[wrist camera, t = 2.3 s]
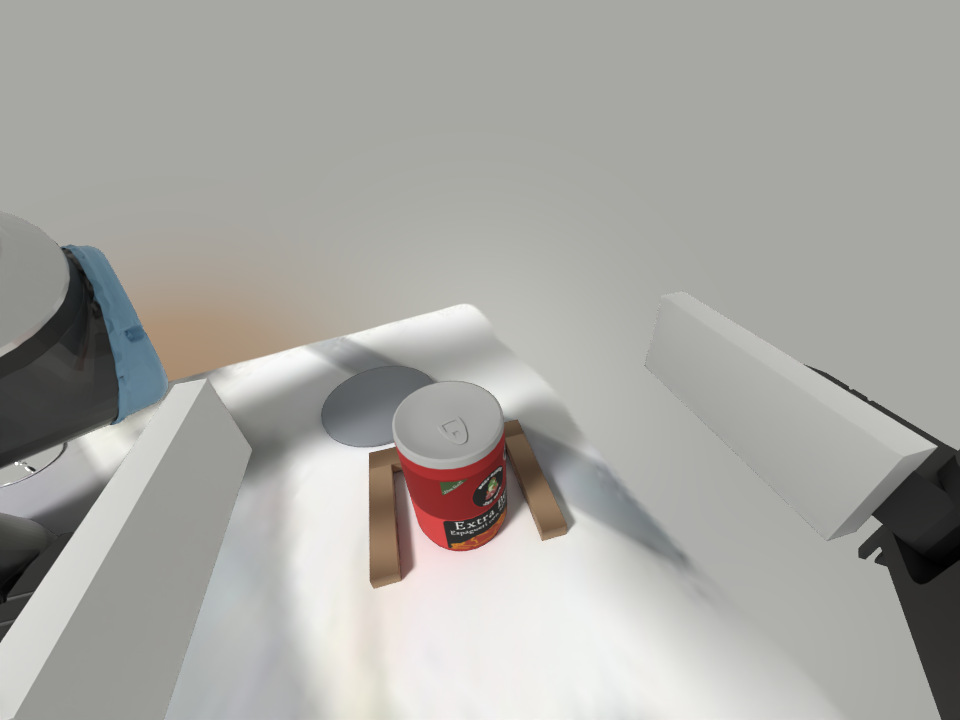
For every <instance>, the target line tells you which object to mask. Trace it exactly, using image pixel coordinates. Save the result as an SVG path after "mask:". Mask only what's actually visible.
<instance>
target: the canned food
mask: <svg viewBox="0 0 960 720" xmlns="http://www.w3.org/2000/svg"><path fill="white" fill-rule="evenodd" d="M392 430H393V438H394V441H395V445H396V449H397V453H398V456H399V460H400V463H401V466H402V470H403V473H404V476H405V480H406V483H407V487H408V490H409V493H410V497H411V500H412V504H413V507H414V510H415V514H416V517H417V520H418V523H419V525H420V527H421V529H422V531H423V532H424V533H425V534H426V535H427V536H428V537H429V538H430V539H431V540H432V541H433V542H434V543H436V544H437V545H439V546H440V547H443V548H445V549H448V550H453V551H468V550H473V549H476V548H478V547H480V546H483V545H484V544H486V543H487V542H488V541H490V540H491V539H492V538H493V537H494V536H495V535H496V533H497V532H498V530H499V528H500V527H501V525H502V523H503V521H504V518H505V515H506V509H507V489H506V452H505V429H504V417H503V413H502V409H501V406H500V404H499V402H498V401H497V399H496V398H495V397H494V396H493V395H492V394H491V393H490V392H489V391H487V390H485V389H484V388H482V387H480V386H477V385H475V384H472V383H467V382H461V381H444V382H438V383H434V384H430V385H427V386H424V387H422V388H420V389H418V390H416V391H415V392H413V393H412V394H410V395H409V396H408V397H407V398H405V399H404V400H403V401H402V403H401V404H400V405H399V406H398V408H397V410H396V412H395V414H394V417H393V422H392Z"/></svg>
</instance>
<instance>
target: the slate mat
mask: <svg viewBox="0 0 960 720" xmlns="http://www.w3.org/2000/svg"><path fill="white" fill-rule="evenodd" d="M430 384H434V383H433V381H432V380H431V379H430V378H429V377H428V376H427V375H426V374H424V373H423V372H421V371H419V370H416V369H413V368H409V367H402V366H388V367H380V368H375V369H371V370H368V371H365V372H362V373H360V374H357V375H355V376H353V377H351V378H350V379H348V380H346V381H345V382H343V383H342V384H341V385H339V386H338V387H337V388H336V389H335V390H334V391H333V392H332V393H331V394H330V395H329V397H328V398H327V400H326V401H325V403H324V405H323V409H322V415H321V416H322V422H323V425H324V427H325V429H326V431H327V433H328V434H329V435H330V436H331V437H332V438H333V439H335V440H336V441H338V442H340V443H342V444H345V445H348V446H354V447H375V446H382V445H386V444H390V443H392V442H395V441H394V438H393V430H392V422H393V417H394V414H395V412H396V410H397V408H398V406H399V405H400V404H401V403H402V401H403V400H404V399H405V398H407V397H408V396H409V395H410V394H412V393H413V392H415V391H416V390H418V389H420V388H422V387H424V386H427V385H430Z"/></svg>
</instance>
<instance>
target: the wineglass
mask: <svg viewBox="0 0 960 720" xmlns="http://www.w3.org/2000/svg"><path fill="white" fill-rule="evenodd" d="M63 448H64V444H60V445H58V446H56V447H53V448H51V449H48V450H46V451H43V452H41V453H39V454H36V455H34V456H31V457H29V458H27V459H24V460H22V461H20V462H17V463H15V464H12V465H10V466H8V467H5V468H3V469H1V470H0V487H4V486H8V485H11V484H14V483H16V482H19V481H21V480H24V479H26V478H28V477H30V476H32V475H34V474H35V473H37V472H39V471H40V470H42V469H43V468H45V467H46V466H48V465H49V464H50V463H51V462H53V461H54V460H55V459H56V458H57V457H58V456H59V455H60V453H61V452H62V450H63Z"/></svg>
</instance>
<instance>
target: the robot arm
mask: <svg viewBox="0 0 960 720" xmlns="http://www.w3.org/2000/svg"><path fill="white" fill-rule="evenodd" d="M645 366H646V367H647V368H648V369H649V370H650V371H651V372H652V373H653V374H654V375H655V376H656V377H657V378H658V379H659V380H660V381H661V382H662V383H663V384H664V385H665V386H666V387H667V388H668V389H669V390H670V391H671V392H673V393H674V394H675V395H676V396H677V397H678V398H679V399H680V400H681V401H682V402H683V403H684V404H685V405H686V406H687V407H688V408H689V409H690V410H691V411H692V412H693V413H694V414H695V415H696V416H697V417H698V418H700V419H701V420H702V421H703V422H704V423H705V424H706V425H707V426H708V427H709V428H710V429H711V430H712V431H713V432H714V433H715V434H716V435H717V436H718V437H719V438H720V439H721V440H722V441H723V442H724V443H726V444H727V445H728V446H729V447H730V448H731V449H732V450H733V451H734V452H735V453H736V454H737V455H738V456H739V457H740V458H741V459H742V460H743V461H744V462H745V463H746V464H747V465H748V466H749V467H750V468H751V469H753V470H754V471H755V472H756V473H757V474H758V475H759V476H760V477H761V478H762V479H763V480H764V481H765V482H766V483H767V484H768V485H769V486H770V487H771V488H772V489H773V490H774V491H775V492H776V493H777V494H778V495H780V496H781V497H782V498H783V499H784V500H785V501H786V502H787V503H788V504H789V505H790V506H791V507H792V508H793V509H794V510H795V511H796V512H797V513H798V514H799V515H800V516H801V517H802V518H803V519H805V521H807V522H808V523H809V524H810V525H811V526H812V527H813V528H814V529H815V530H816V531H817V532H818V533H819V534H820V535H821V536H822V537H823V538H824V539H825V540H826V541H828V540H831V539H834V538H837V537H841V536H844V535H846V534H850V533H853V532H856V531H857V530H858V529H859V528H860V527H861V526H862V524H863V523H864V522H865V521H866V520H867V519H868V518H869V517H870V516H871V515H873V516H874V517H875V518H876V519H877V520H879V521H880V522H881V523H882V524H883V525H882V526H881V527H880V528H879V529H878V530H877V531H875V533H874V534H872V535H871V536H870V537H869V538H868V539H867V540H866V541H865V542H864V543H863V544H862V545H861V546H860V547H859V551H858V553H859V558H862V559H866V558H867V557H868V556H869V555H871V554H872V553H873V552H874V551H875V550H876V549H877V548H878V547H881V549H882V552H881V553H880V554H879V555H878V556H877V557H876V559H875V563H877V564H881V565H884V566H887V567H888V569H889V572H890V575H891V578H892V581H893V584H894V586H895V589H896V592H897V595H898V598H899V601H900V603H901V606H902V609H903V612H904V615H905V618H906V620H907V623H908V626H909V629H910V632H911V635H912V638H913V640H914V643H915V646H916V649H917V652H918V654H919V657H920V660H921V663H922V666H923V669H924V672H925V674H926V677H927V680H928V683H929V686H930V688H931V691H932V694H933V697H934V700H935V703H936V705H937V709H938V711H939V714H940V717H941V720H960V450H959V451H957V450H955V449H954V448H952V447H950V446H948V445H946V444H944V443H943V442H941V441H939V440H938V439H936V438H934V437H933V436H931V435H929V434H928V433H926V432H924V431H922V430H921V429H919V428H917V427H916V426H914V425H912V424H911V423H909V422H907V421H906V420H904V419H902V418H901V417H899V416H897V415H896V414H894V413H892V412H891V411H889V410H887V409H885V408H884V407H882V406H881V405H879V404H877V403H876V402H874V401H868V399H867V397H866V396H864V395H862V394H861V393H859V392H857V391H856V390H854V389H853V390H850V389H849V386H847V385H845V384H844V383H842V382H840V381H839V380H837V379H835V378H834V377H832V376H830V375H829V374H827V373H825V372H822V371H820V370H817V369H814V368H812V367H809V366H807V365H804V364H802V363H800V362H798V361H797V360H795V359H793V358H792V357H790V356H789V355H787V354H785V353H784V352H782V351H780V350H779V349H777V348H775V347H774V346H772V345H770V344H769V343H767V342H766V341H764V340H762V339H761V338H759V337H757V336H756V335H754V334H752V333H751V332H749V331H747V330H746V329H744V328H743V327H741V326H739V325H738V324H736V323H734V322H733V321H731V320H729V319H728V318H726V317H725V316H722V315H721V314H719V313H718V312H716V311H715V310H713V309H711V308H710V307H708V306H707V305H705V304H703V303H702V302H700V301H698V300H697V299H695V298H693V297H692V296H690V295H688V294H687V293H685V292H677V293H672V294H666V295H662V297H661V301H660V305H659V309H658V313H657V317H656V321H655V326H654V329H653V334H652V338H651V342H650V346H649V350H648V354H647V359H646V362H645ZM167 389H168V378H167V375H166V373H165V370H164V368H163V366H162V363H161V361H160V359H159V357H158V355H157V353H156V351H155V349H154V347H153V345H152V343H151V341H150V339H149V337H148V336H147V334H146V332H145V331H144V329H143V326H142V324H141V322H140V320H139V319H138V316H137V314H136V312H135V310H134V308H133V306H132V304H131V302H130V300H129V298H128V296H127V294H126V292H125V291H124V289H123V287H122V285H121V284H120V282H119V280H118V278H117V276H116V274H115V272H114V271H113V269H112V267H111V265H110V264H109V262H108V260H107V259H106V257H105V255H104V254H103V253H102V252H101V251H100V250H99V249H97V248H95V247H91V246H74V245H68V246H62V247H59V246H58V244H57V243H56V242H55V241H54V240H52V239H51V238H50V237H49V236H48V235H47V234H46V233H45V232H43V231H42V230H41V229H40V228H38V227H36V226H35V225H33V224H31V223H29V222H28V221H26V220H24V219H21V218H19V217H16V216H14V215H11V214H8V213H5V212H1V211H0V470H1V469H3V468H5V467H8V466H10V465H12V464H15V463H17V462H20V461H22V460H24V459H27V458H29V457H31V456H34V455H36V454H39V453H41V452H43V451H46V450H48V449H51V448H53V447H56V446H58V445H60V444H63V443H65V442H68V441H70V440H73V439H75V438H78V437H80V436H83V435H85V434H87V433H90V432H92V431H95V430H97V429H100V428H102V427H105V426H107V425H114V424H117V423H119V422H121V421H122V420H124V419H125V417H126V416H128V415H130V414H132V413H135V412H137V411H139V410H141V409H143V408H145V407H147V406H150V405H152V404H154V403H156V402H157V401H159V400H160V399H161V398H162V397H163V396H164V395H165V393H166V392H167ZM251 452H252V448H251V447H250V445H249V444H248V442H247V440H246V439H245V437H244V436H243V434H242V433H241V431H240V429H239V428H238V426H237V425H236V423H235V421H234V420H233V418H232V417H231V415H230V413H229V412H228V410H227V409H226V407H225V405H224V404H223V402H222V401H221V399H220V397H219V396H218V394H217V393H216V391H215V389H214V388H213V386H212V385H211V383H210V381H209V380H208V378H206V379H201V380H195V381H190V382H184V383H179V384H175V385H174V386H173V388H172V389H171V391H170V392H169V394H168V395H167V397H166V398H165V400H164V401H163V403H162V404H161V405H160V407H159V408H158V410H157V411H156V413H155V414H154V416H153V417H152V419H151V420H150V422H149V423H148V425H147V426H146V428H145V429H144V431H143V432H142V434H141V435H140V437H139V438H138V440H137V441H136V443H135V444H134V446H133V447H132V448H131V450H130V451H129V453H128V454H127V456H126V457H125V459H124V460H123V462H122V463H121V465H120V466H119V468H118V469H117V471H116V472H115V474H114V475H113V477H112V478H111V480H110V481H109V483H108V484H107V486H106V487H105V489H104V490H103V491H102V493H101V494H100V496H99V497H98V499H97V500H96V502H95V503H94V505H93V506H92V508H91V509H90V511H89V512H88V514H87V515H86V517H85V518H84V520H83V521H82V523H81V524H80V526H79V527H78V529H77V530H76V531H75V532H70V533H66V534H62V535H61V536H60V537H58V536H56V535H55V534H53V533H52V532H51V531H49V530H48V529H47V528H45V527H44V526H42V525H41V524H39V523H37V522H34V521H32V520H29V519H25V518H21V517H17V516H12V515H8V514H4V513H0V720H164V718H165V715H166V712H167V709H168V706H169V703H170V700H171V697H172V694H173V690H174V687H175V684H176V681H177V678H178V675H179V672H180V669H181V666H182V663H183V660H184V657H185V654H186V651H187V648H188V645H189V642H190V639H191V636H192V632H193V629H194V626H195V623H196V620H197V617H198V614H199V611H200V608H201V605H202V602H203V599H204V596H205V593H206V590H207V587H208V584H209V581H210V578H211V574H212V571H213V568H214V565H215V562H216V559H217V556H218V553H219V550H220V547H221V544H222V541H223V538H224V535H225V532H226V529H227V526H228V523H229V520H230V516H231V513H232V510H233V507H234V504H235V501H236V498H237V495H238V492H239V489H240V486H241V483H242V480H243V477H244V474H245V471H246V468H247V465H248V462H249V458H250V455H251Z"/></svg>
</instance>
